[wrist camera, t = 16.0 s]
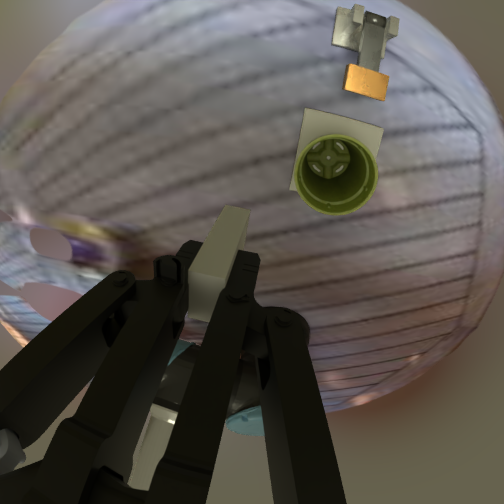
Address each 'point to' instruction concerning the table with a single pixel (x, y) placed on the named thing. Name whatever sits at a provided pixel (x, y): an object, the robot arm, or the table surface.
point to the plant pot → (336, 174)
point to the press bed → (330, 123)
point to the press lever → (368, 61)
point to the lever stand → (357, 28)
